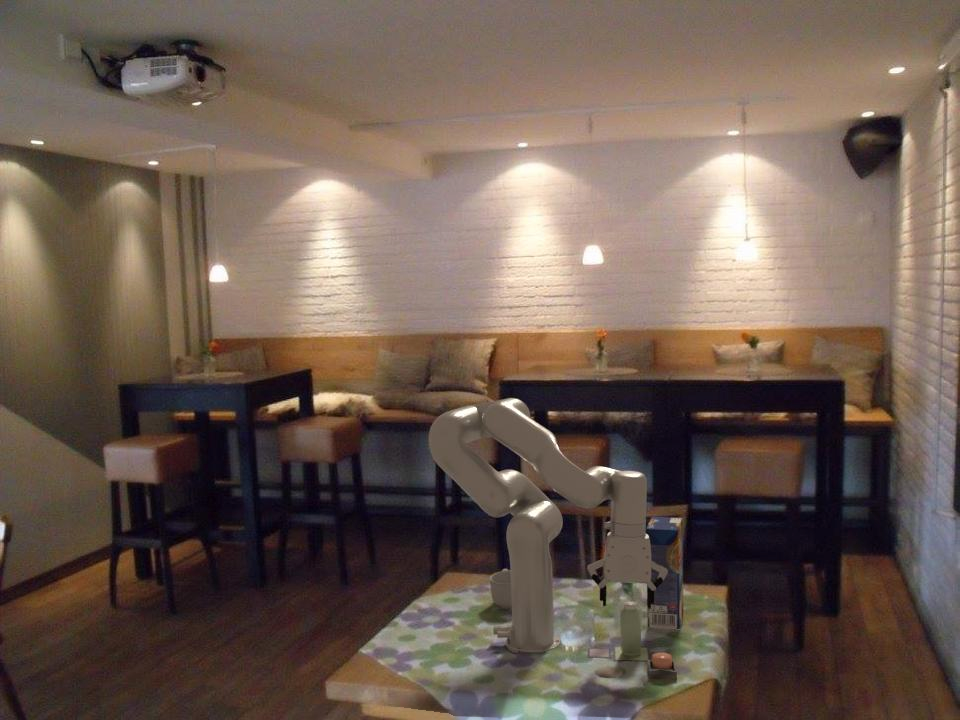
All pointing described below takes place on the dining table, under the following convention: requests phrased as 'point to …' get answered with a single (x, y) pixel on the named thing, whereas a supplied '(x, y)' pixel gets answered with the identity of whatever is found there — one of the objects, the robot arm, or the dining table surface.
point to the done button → (662, 661)
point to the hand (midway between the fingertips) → (626, 605)
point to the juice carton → (670, 556)
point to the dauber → (630, 629)
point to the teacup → (501, 588)
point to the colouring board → (644, 656)
